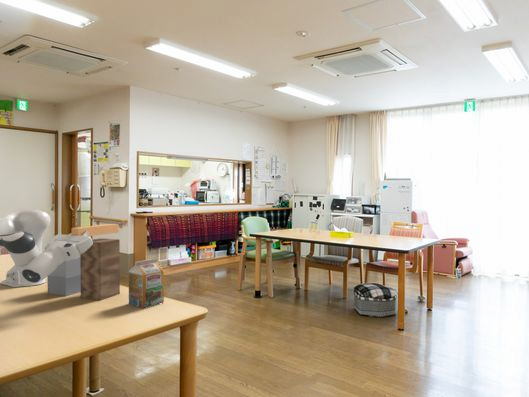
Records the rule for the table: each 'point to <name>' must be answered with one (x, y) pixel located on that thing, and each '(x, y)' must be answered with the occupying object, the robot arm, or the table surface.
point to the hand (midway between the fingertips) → (82, 231)
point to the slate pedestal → (65, 278)
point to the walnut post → (100, 269)
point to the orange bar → (96, 230)
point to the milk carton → (146, 284)
